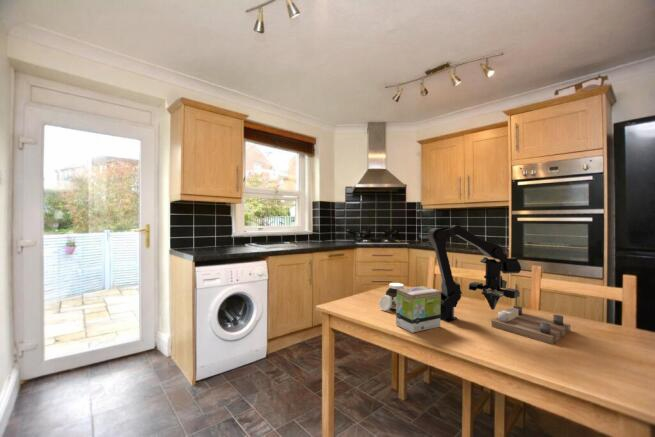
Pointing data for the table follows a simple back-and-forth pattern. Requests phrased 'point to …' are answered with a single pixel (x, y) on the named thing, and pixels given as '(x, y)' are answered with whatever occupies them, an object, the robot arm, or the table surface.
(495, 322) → the slatted wooden base
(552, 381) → the table surface
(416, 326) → the tea box
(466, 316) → the table surface
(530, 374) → the table surface
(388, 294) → the spread jar
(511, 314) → the white rectangular block
